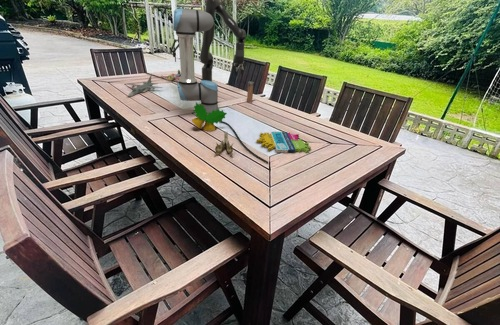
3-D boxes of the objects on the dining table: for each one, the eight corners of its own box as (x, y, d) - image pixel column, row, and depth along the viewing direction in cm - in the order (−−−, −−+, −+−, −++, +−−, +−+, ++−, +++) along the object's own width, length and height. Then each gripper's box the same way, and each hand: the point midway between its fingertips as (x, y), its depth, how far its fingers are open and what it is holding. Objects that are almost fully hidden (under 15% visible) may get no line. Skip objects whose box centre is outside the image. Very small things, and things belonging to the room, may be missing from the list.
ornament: (218, 133, 171) (224, 110, 169) (221, 134, 163) (227, 111, 161) (186, 125, 162) (192, 101, 160) (189, 126, 155) (195, 101, 153)
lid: (246, 84, 217) (246, 81, 216) (252, 84, 218) (253, 81, 217) (248, 85, 212) (248, 82, 211) (254, 85, 214) (254, 82, 213)
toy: (193, 71, 287) (180, 75, 262) (193, 77, 291) (181, 82, 265) (170, 68, 292) (155, 72, 266) (170, 75, 296) (156, 79, 270)
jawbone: (234, 135, 144) (233, 125, 135) (233, 160, 138) (232, 151, 129) (217, 135, 144) (216, 125, 135) (216, 160, 138) (214, 150, 129)
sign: (313, 150, 142) (258, 149, 139) (312, 153, 143) (258, 152, 140) (301, 132, 164) (254, 130, 161) (301, 134, 165) (254, 133, 162)
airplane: (122, 86, 237) (119, 75, 232) (157, 84, 250) (156, 74, 245) (126, 99, 209) (123, 86, 204) (166, 96, 222) (165, 84, 217)
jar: (246, 101, 223) (247, 82, 216) (251, 100, 225) (252, 82, 217) (247, 102, 220) (248, 83, 212) (252, 102, 221) (254, 83, 213)
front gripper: (198, 33, 207) (199, 61, 218) (165, 31, 201) (168, 60, 211) (199, 33, 201) (200, 62, 211) (165, 32, 194) (168, 62, 205)
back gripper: (241, 54, 229) (240, 73, 237) (230, 55, 219) (230, 75, 227) (248, 55, 226) (247, 74, 234) (237, 56, 215) (237, 76, 223)
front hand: (184, 61), depth 211 cm, fingers open, 13 cm apart
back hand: (238, 75), depth 230 cm, fingers open, 8 cm apart
